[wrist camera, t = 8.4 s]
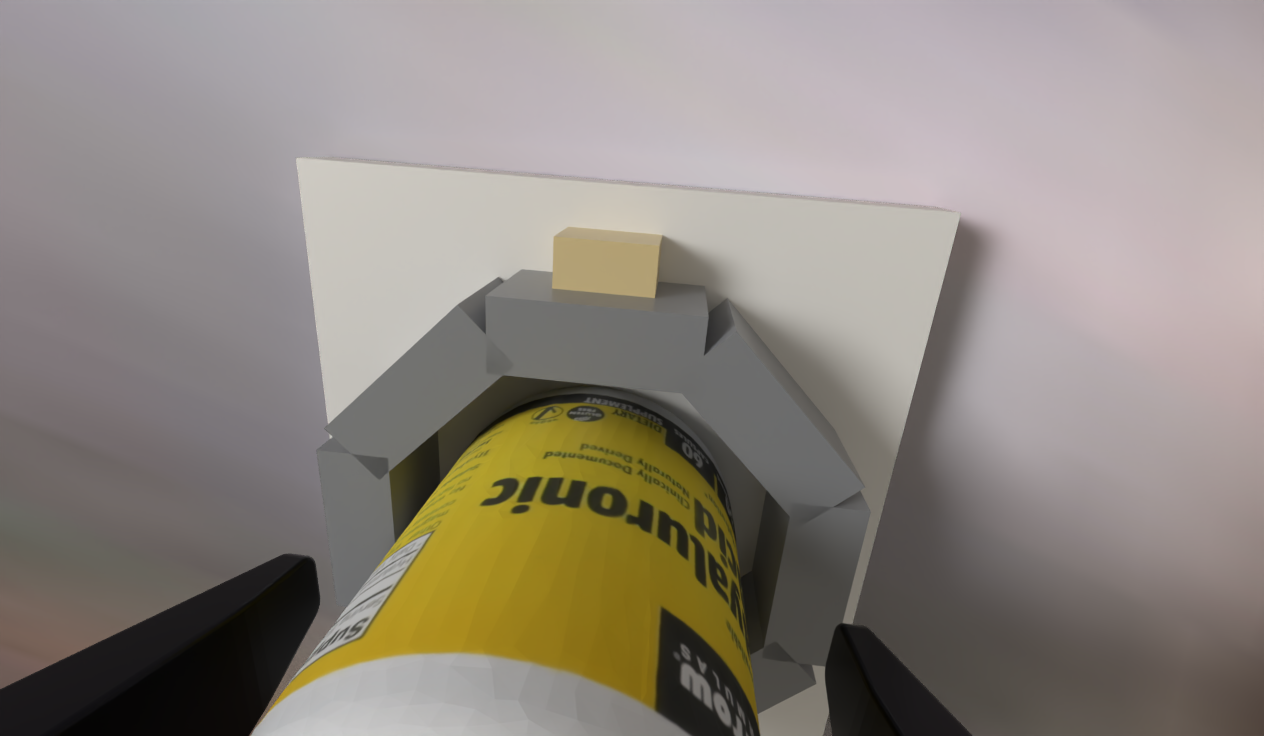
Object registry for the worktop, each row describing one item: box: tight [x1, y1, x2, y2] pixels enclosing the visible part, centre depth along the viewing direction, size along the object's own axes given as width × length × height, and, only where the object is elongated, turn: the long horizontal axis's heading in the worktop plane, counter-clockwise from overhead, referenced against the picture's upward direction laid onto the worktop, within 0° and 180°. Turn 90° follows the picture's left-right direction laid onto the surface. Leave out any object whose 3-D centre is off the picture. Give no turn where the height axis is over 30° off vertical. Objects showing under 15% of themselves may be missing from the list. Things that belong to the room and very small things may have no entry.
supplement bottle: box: [251, 386, 760, 736], centre depth 7 cm, size 5×5×10 cm
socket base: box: [296, 157, 961, 736], centre depth 11 cm, size 12×11×3 cm
